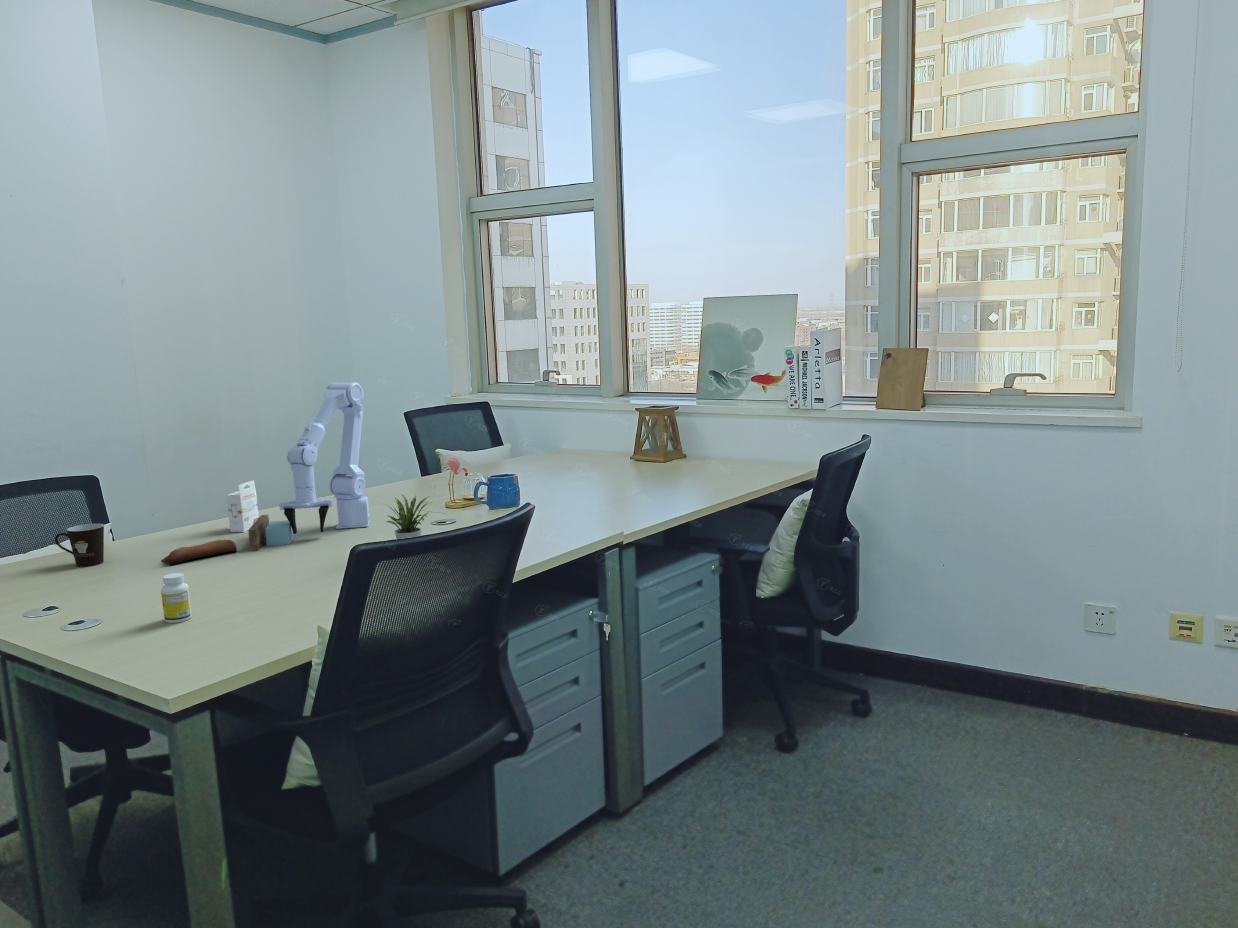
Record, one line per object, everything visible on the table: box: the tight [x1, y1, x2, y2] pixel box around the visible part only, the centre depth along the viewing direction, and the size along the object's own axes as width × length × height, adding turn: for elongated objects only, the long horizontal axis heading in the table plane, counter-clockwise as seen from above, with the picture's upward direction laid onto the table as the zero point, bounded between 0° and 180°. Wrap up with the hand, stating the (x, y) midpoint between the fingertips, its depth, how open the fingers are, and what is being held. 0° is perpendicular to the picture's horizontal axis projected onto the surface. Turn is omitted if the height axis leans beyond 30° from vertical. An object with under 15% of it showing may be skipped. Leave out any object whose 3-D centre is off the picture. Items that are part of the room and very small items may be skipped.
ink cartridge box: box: [225, 480, 260, 533], centre depth 283 cm, size 9×5×15 cm, turn 168°
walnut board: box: [247, 514, 270, 552], centre depth 266 cm, size 2×20×6 cm, turn 11°
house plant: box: [382, 493, 433, 540], centre depth 248 cm, size 14×14×16 cm
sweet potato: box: [160, 539, 237, 566], centre depth 251 cm, size 18×7×7 cm
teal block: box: [265, 519, 295, 547], centre depth 267 cm, size 6×10×5 cm, turn 12°
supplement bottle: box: [160, 572, 193, 624], centre depth 198 cm, size 5×5×10 cm
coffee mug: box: [54, 523, 105, 568], centre depth 247 cm, size 12×9×10 cm
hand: (308, 532), depth 268 cm, fingers open, 7 cm apart
